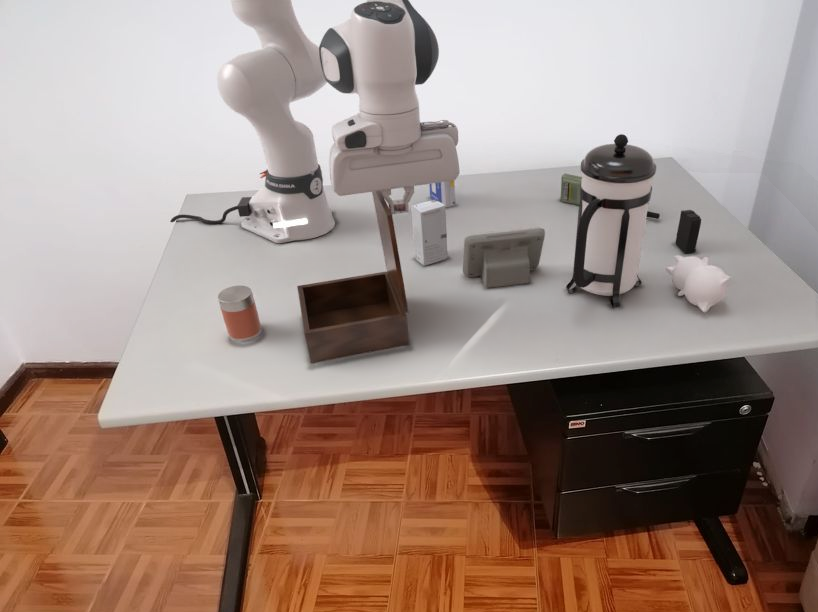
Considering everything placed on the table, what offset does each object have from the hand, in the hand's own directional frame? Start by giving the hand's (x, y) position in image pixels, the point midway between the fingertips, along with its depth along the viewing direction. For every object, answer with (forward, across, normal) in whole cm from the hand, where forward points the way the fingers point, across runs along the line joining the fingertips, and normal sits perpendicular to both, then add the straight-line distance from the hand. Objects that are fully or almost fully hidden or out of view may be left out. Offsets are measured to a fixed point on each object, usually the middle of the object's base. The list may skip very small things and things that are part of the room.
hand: (399, 212), depth 104 cm
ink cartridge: (+22, -63, -9) cm, 67 cm away
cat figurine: (+22, -54, +9) cm, 59 cm away
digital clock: (+22, -22, -11) cm, 33 cm away
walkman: (+22, -20, -51) cm, 59 cm away
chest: (+22, +10, 0) cm, 24 cm away
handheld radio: (+22, -56, -32) cm, 68 cm away
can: (+22, +29, -5) cm, 36 cm away
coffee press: (+22, -38, +2) cm, 44 cm away
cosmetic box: (+22, -10, -23) cm, 33 cm away
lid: (+6, +3, 0) cm, 6 cm away
